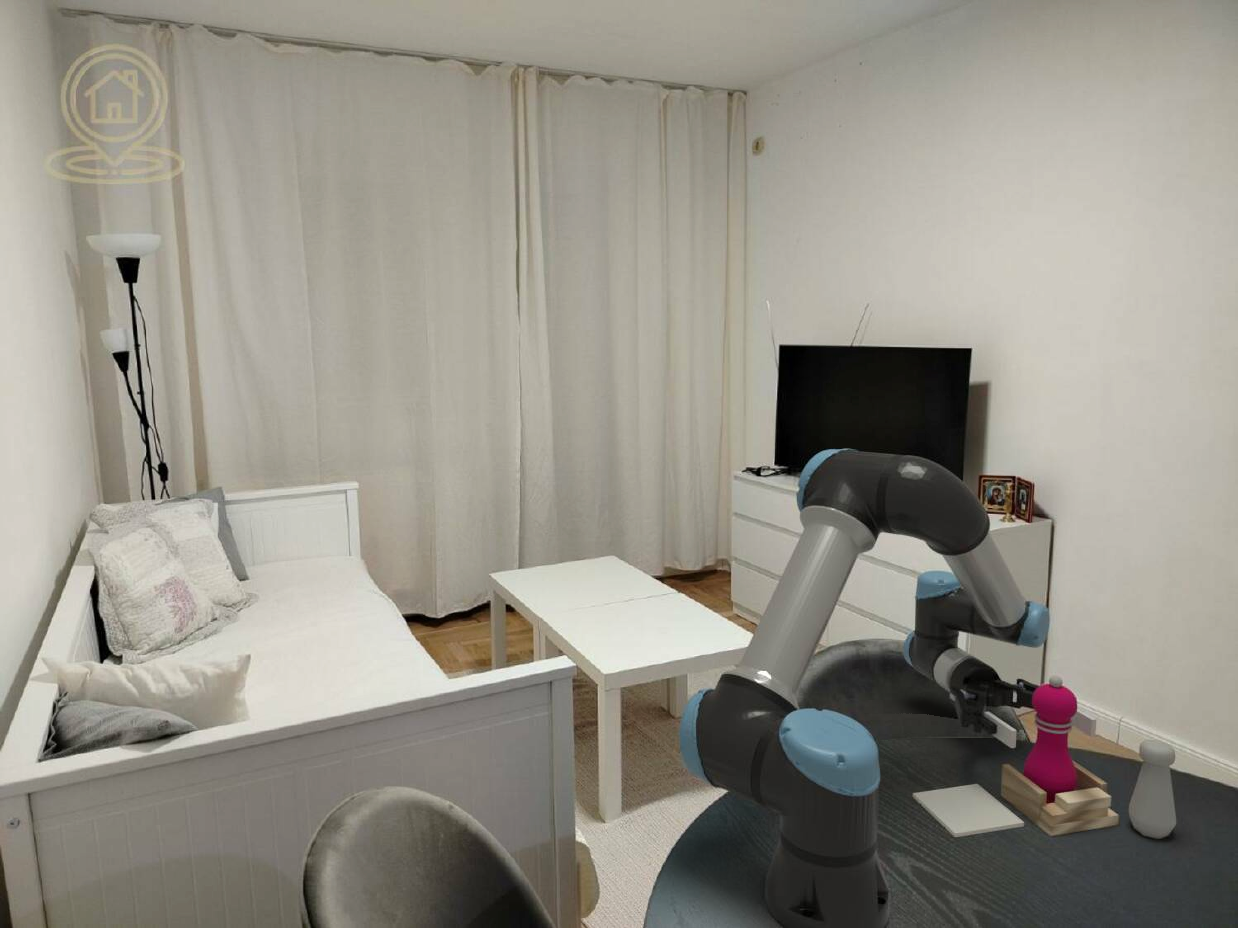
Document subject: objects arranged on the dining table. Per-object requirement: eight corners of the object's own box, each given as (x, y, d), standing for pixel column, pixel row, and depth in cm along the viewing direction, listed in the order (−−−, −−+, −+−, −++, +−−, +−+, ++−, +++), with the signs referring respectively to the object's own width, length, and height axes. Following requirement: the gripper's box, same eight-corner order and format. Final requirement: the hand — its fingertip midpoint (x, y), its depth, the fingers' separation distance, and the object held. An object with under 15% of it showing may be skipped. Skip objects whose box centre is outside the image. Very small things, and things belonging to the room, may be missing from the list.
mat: (954, 837, 124) (955, 833, 123) (912, 796, 134) (912, 793, 134) (1024, 826, 126) (1024, 822, 126) (977, 787, 137) (977, 783, 136)
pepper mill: (1063, 790, 135) (1072, 666, 132) (1083, 816, 128) (1092, 686, 125) (1014, 789, 136) (1021, 665, 133) (1031, 815, 129) (1039, 685, 125)
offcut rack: (1050, 835, 123) (1052, 802, 123) (1000, 795, 134) (1002, 764, 133) (1118, 824, 126) (1120, 792, 125) (1063, 785, 136) (1065, 755, 136)
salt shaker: (1139, 814, 128) (1146, 730, 126) (1182, 832, 124) (1190, 745, 122) (1119, 828, 125) (1125, 742, 123) (1162, 847, 120) (1170, 758, 118)
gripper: (1030, 690, 154) (1124, 746, 134) (900, 707, 149) (978, 768, 128) (1032, 649, 153) (1127, 700, 133) (902, 664, 148) (980, 719, 127)
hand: (1054, 733), depth 130 cm, fingers open, 13 cm apart
